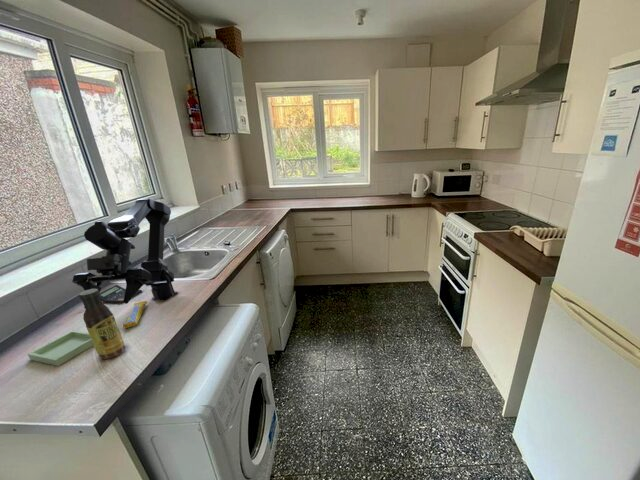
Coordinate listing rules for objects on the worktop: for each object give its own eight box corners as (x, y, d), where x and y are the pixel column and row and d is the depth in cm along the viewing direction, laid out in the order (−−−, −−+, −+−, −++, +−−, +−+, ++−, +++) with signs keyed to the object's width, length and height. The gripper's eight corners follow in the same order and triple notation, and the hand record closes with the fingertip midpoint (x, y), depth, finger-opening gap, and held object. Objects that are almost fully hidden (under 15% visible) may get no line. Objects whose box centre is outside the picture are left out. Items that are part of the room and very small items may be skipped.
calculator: (122, 303, 111) (119, 296, 110) (96, 302, 113) (93, 295, 111) (142, 291, 119) (139, 285, 118) (118, 290, 121) (115, 284, 120)
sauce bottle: (111, 361, 80) (82, 299, 72) (94, 359, 81) (63, 297, 73) (132, 346, 86) (107, 287, 78) (115, 344, 87) (89, 286, 79)
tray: (75, 335, 92) (73, 330, 92) (101, 339, 89) (99, 334, 89) (30, 359, 82) (27, 354, 81) (58, 366, 79) (55, 360, 78)
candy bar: (137, 327, 95) (135, 322, 94) (122, 330, 94) (120, 325, 93) (148, 303, 109) (146, 299, 109) (135, 306, 108) (133, 302, 107)
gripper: (62, 248, 80) (47, 301, 75) (133, 241, 83) (125, 293, 77) (92, 263, 91) (81, 311, 85) (155, 257, 93) (149, 304, 87)
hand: (108, 305), depth 83 cm, fingers open, 9 cm apart
